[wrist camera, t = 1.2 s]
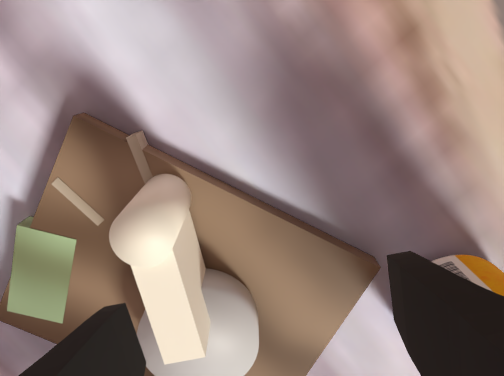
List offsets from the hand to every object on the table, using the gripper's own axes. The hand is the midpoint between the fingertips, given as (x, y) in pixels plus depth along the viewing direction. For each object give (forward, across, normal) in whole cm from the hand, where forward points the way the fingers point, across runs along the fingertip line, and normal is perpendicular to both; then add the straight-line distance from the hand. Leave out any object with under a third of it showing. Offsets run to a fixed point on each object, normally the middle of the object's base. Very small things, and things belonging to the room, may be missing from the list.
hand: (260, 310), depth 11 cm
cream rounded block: (+9, +4, +4) cm, 11 cm away
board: (+11, +5, +4) cm, 13 cm away
